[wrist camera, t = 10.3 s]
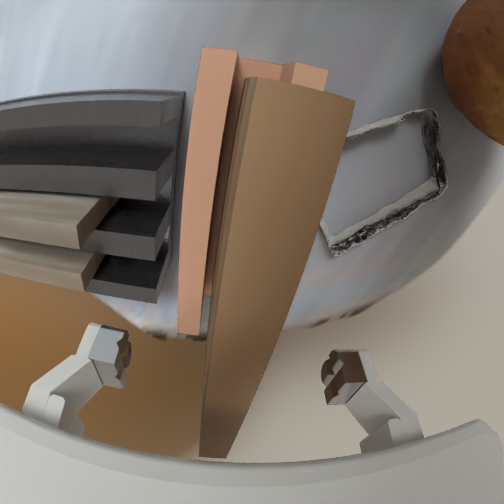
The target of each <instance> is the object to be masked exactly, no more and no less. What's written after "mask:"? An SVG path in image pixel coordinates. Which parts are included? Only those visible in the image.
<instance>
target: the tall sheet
mask: <svg viewBox="0 0 504 504" xmlns="http://www.w3.org/2000/svg"><path fill="white" fill-rule="evenodd" d="M355 102H356V101H354V100H351V99H348V98H344V97H341V96H338V95H334V94H331V93H328V92H324V91H320V90H317V89H313V88H309V87H305V86H301V85H296V84H292V83H288V82H283V81H278V80H273V79H268V78H263V77H250V78H245V80H244V86H243V91H242V96H241V101H240V107H239V112H238V118H237V123H236V129H235V135H234V141H233V147H232V152H231V158H230V165H229V171H228V177H227V183H226V190H225V196H224V203H223V209H222V216H221V223H220V230H219V237H218V244H217V252H216V259H215V267H214V274H213V282H212V291H211V301H210V311H209V321H208V332H207V343H206V355H205V367H204V380H203V394H202V409H201V425H200V443H199V457H210V458H225V459H226V457H227V455H228V453H229V451H230V449H231V446H232V444H233V442H234V440H235V438H236V436H237V434H238V431H239V429H240V427H241V425H242V423H243V420H244V418H245V416H246V414H247V411H248V409H249V407H250V405H251V402H252V400H253V398H254V396H255V393H256V391H257V389H258V386H259V384H260V382H261V379H262V377H263V374H264V372H265V370H266V367H267V365H268V362H269V360H270V357H271V355H272V353H273V350H274V348H275V345H276V343H277V340H278V338H279V335H280V332H281V330H282V327H283V325H284V322H285V320H286V317H287V314H288V312H289V309H290V306H291V304H292V301H293V298H294V296H295V293H296V290H297V288H298V285H299V282H300V279H301V277H302V274H303V271H304V268H305V265H306V262H307V260H308V257H309V254H310V251H311V248H312V245H313V242H314V239H315V236H316V233H317V230H318V227H319V224H320V221H321V218H322V215H323V212H324V209H325V206H326V203H327V199H328V196H329V193H330V190H331V187H332V183H333V180H334V177H335V173H336V170H337V167H338V163H339V160H340V156H341V153H342V150H343V146H344V143H345V139H346V135H347V132H348V128H349V124H350V121H351V117H352V113H353V109H354V106H355Z"/></svg>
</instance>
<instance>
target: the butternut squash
mask: <svg viewBox="0 0 504 504" xmlns="http://www.w3.org/2000/svg"><path fill="white" fill-rule="evenodd" d="M442 69H443V75H444V81H445V84H446V87H447V90H448V93H449V96H450V98H451V100H452V102H453V104H454V105H455V107H456V108H458V109H459V110H460V111H461V112H462V113H463V114H464V115H465V116H466V117H467V118H468V119H469V121H470V122H471V123H472V124H473V125H474V126H475V127H476V128H478V129H479V130H480V131H482V132H483V133H484V134H486V135H487V136H488V137H489V138H491V139H493V140H494V141H496V142H498V143H499V144H501V145H503V146H504V0H468V1H466V2H465V3H464V4H463V6H462V7H461V8H460V9H459V11H458V12H457V14H456V16H455V17H454V19H453V21H452V23H451V25H450V27H449V29H448V31H447V34H446V36H445V40H444V44H443V47H442Z"/></svg>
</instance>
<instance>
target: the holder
mask: <svg viewBox="0 0 504 504" xmlns="http://www.w3.org/2000/svg"><path fill="white" fill-rule="evenodd" d="M328 72H329V70H325V69H322V68H318V67H315V66H311V65H307V64H303V63H299V62H293V63H289V64H286V65H279V64H274V63H269V62H263V61H257V60H252V59H245V58H239V56H238V51H235V50H227V49H218V48H208V47H203V48H202V54H201V59H200V65H199V71H198V77H197V83H196V89H195V96H194V102H193V109H192V117H191V124H190V132H189V140H188V149H187V158H186V168H185V178H184V190H183V202H182V216H181V232H180V251H179V278H178V333H183V334H190V335H198V336H199V330H200V322H201V314H202V306H203V298H204V296H211V291H212V282H213V274H214V267H215V259H216V252H217V244H218V237H219V230H220V223H221V216H222V209H223V203H224V196H225V190H226V183H227V177H228V171H229V165H230V158H231V152H232V147H233V141H234V135H235V129H236V123H237V118H238V112H239V107H240V101H241V96H242V91H243V86H244V80H245V78H250V77H263V78H268V79H273V80H278V81H283V82H288V83H292V84H296V85H301V86H305V87H309V88H313V89H317V90H320V91H324V89H325V84H326V80H327V76H328Z"/></svg>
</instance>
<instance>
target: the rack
mask: <svg viewBox="0 0 504 504" xmlns="http://www.w3.org/2000/svg"><path fill="white" fill-rule="evenodd" d="M184 94H185V91H173V90H152V89H103V90H84V91H70V92H60V93H51V94H43V95H36V96H29V97H23V98H17V99H12V100H7V101H2V102H0V189H17V190H35V191H50V192H64V193H77V194H89V195H100V196H111V197H120V198H119V200H118V201H117V202H116V203H115V204H114V206H113V207H112V208H111V209H110V211H109V212H108V213H107V214H106V216H105V217H104V218H103V219H102V221H101V222H100V223H99V224H98V226H97V227H96V228H95V230H94V231H93V232H92V234H91V235H90V236H89V238H88V239H87V240H86V242H85V243H84V245H83V246H82V247H81V249H76V250H82V251H89V252H95V253H102V254H106V255H105V257H104V259H103V260H102V262H101V264H100V265H99V267H98V269H97V271H96V272H95V274H94V276H93V278H92V280H91V281H90V283H89V285H88V287H87V289H86V291H87V292H92V293H97V294H102V295H108V296H113V297H119V298H125V299H131V300H137V301H143V302H149V303H156V304H157V300H158V297H159V293H160V290H161V287H162V283H163V280H164V277H165V274H166V270H167V267H168V266H169V263H170V259H171V250H172V223H173V204H174V189H175V175H176V164H177V153H178V143H179V134H180V125H181V117H182V109H183V101H184ZM0 237H1V236H0ZM3 238H7V237H3ZM9 239H13V238H9ZM15 240H19V239H15ZM21 241H25V240H21ZM27 242H31V241H27ZM32 243H37V242H32ZM38 244H43V243H38ZM45 245H49V244H45ZM51 246H55V245H51ZM57 247H61V246H57ZM63 248H67V247H63ZM69 249H74V248H69Z"/></svg>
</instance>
